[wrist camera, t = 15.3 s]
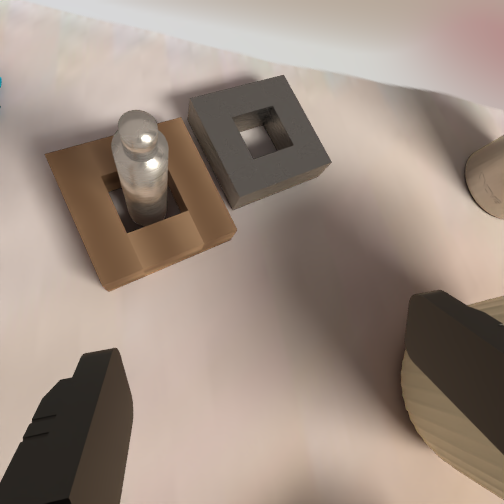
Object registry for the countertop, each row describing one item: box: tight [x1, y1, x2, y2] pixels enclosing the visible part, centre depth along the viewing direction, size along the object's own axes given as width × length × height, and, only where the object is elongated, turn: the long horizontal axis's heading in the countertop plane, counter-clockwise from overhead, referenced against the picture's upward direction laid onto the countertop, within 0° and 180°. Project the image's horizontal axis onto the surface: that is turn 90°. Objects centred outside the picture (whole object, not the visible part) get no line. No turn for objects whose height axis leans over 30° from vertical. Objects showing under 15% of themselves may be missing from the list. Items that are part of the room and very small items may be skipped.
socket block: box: [187, 75, 332, 210], centre depth 32 cm, size 10×10×3 cm
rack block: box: [45, 117, 237, 292], centre depth 27 cm, size 11×11×3 cm
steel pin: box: [111, 110, 169, 226], centre depth 23 cm, size 3×3×12 cm
